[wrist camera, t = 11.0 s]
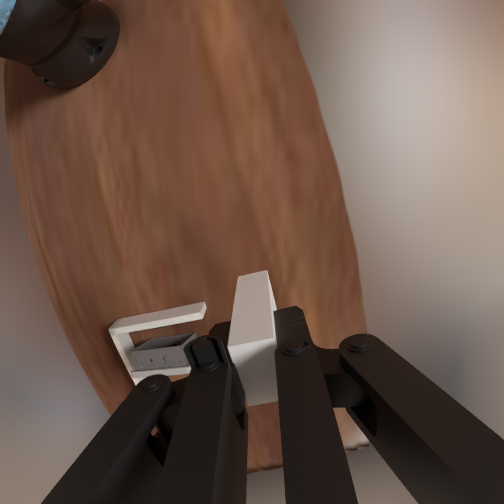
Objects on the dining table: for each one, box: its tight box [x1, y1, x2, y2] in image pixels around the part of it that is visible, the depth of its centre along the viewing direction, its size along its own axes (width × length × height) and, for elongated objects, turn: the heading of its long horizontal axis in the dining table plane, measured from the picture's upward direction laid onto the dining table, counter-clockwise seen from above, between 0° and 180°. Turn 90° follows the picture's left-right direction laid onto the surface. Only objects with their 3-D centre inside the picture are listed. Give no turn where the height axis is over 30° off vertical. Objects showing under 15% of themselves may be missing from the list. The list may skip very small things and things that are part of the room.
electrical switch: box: [130, 332, 197, 378], centre depth 42 cm, size 9×5×9 cm, turn 103°
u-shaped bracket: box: [108, 302, 207, 385], centre depth 45 cm, size 16×15×4 cm
